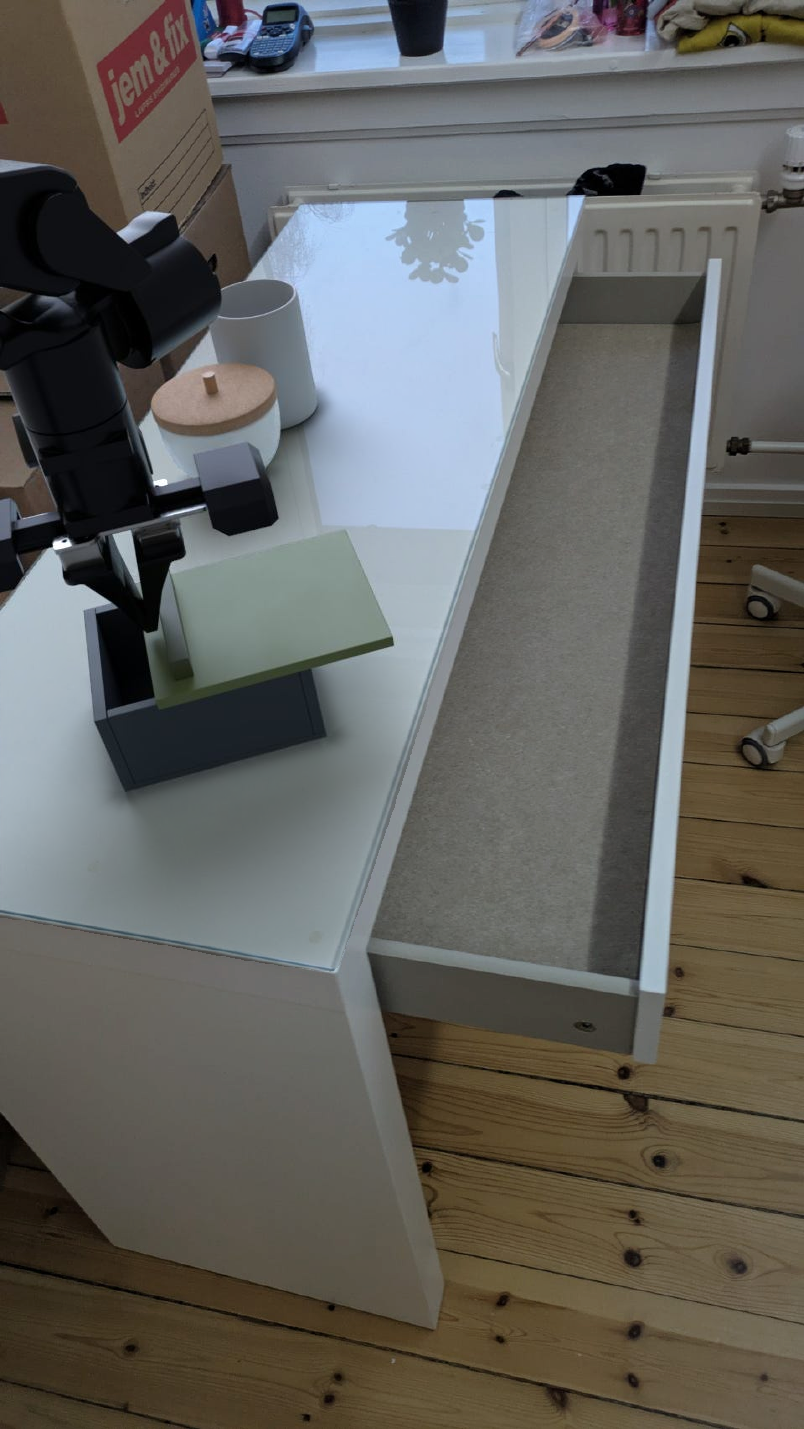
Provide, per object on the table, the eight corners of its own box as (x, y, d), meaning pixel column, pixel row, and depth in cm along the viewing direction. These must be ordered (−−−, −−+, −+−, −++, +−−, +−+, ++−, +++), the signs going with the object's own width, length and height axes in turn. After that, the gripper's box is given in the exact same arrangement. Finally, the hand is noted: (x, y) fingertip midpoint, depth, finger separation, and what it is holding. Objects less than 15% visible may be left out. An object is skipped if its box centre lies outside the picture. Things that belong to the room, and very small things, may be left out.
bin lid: (158, 710, 67) (148, 683, 65) (137, 592, 75) (128, 565, 74) (394, 646, 68) (390, 617, 67) (346, 538, 77) (342, 510, 76)
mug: (316, 427, 102) (295, 313, 94) (226, 437, 102) (198, 325, 95) (320, 366, 110) (301, 257, 103) (237, 376, 111) (212, 268, 103)
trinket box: (301, 437, 101) (281, 340, 94) (280, 503, 93) (257, 403, 87) (189, 442, 102) (163, 348, 96) (160, 508, 95) (129, 410, 88)
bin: (124, 792, 71) (94, 721, 66) (111, 679, 79) (83, 610, 75) (327, 736, 73) (310, 664, 68) (293, 631, 81) (276, 560, 76)
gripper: (221, 312, 66) (270, 526, 77) (-91, 381, 64) (5, 591, 75) (252, 395, 58) (302, 620, 69) (-103, 477, 56) (6, 696, 67)
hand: (151, 628), depth 70 cm, fingers closed
